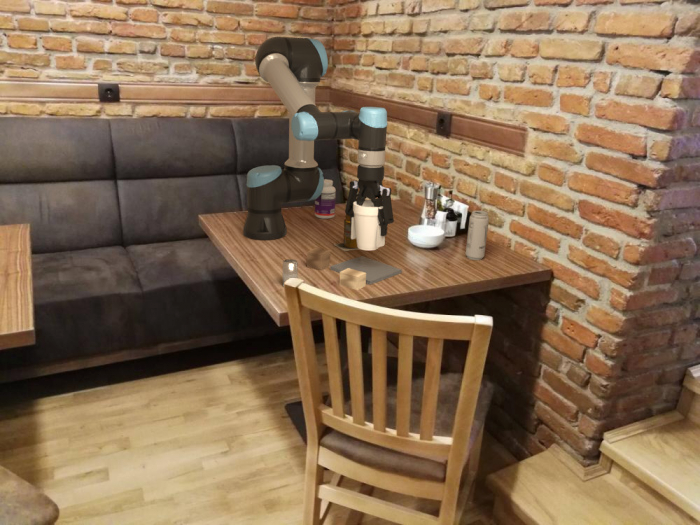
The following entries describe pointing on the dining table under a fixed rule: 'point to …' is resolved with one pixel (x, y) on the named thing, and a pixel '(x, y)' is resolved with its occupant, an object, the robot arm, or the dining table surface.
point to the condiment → (347, 237)
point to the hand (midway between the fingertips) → (367, 242)
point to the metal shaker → (290, 269)
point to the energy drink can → (477, 235)
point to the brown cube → (318, 258)
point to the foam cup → (366, 225)
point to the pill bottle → (326, 201)
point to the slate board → (368, 268)
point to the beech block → (352, 279)
